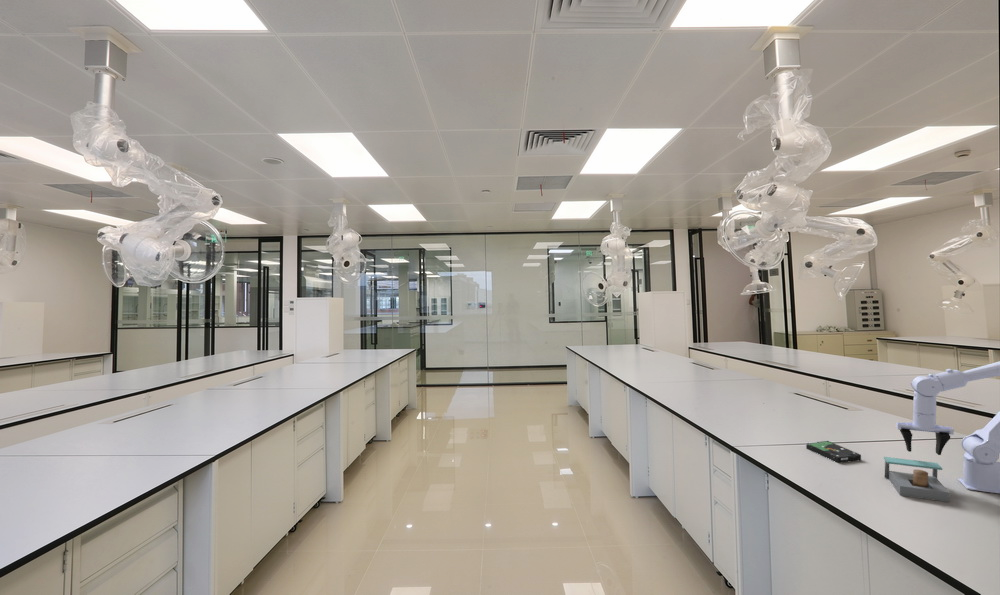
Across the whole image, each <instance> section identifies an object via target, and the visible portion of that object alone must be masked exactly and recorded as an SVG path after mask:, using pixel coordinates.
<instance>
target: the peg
mask: <svg viewBox="0 0 1000 595" xmlns="http://www.w3.org/2000/svg"><path fill="white" fill-rule="evenodd" d="M912 474H913V486H918V487H925V488H928V476H929V472H927V471H926V470H922V469H913V473H912Z"/></svg>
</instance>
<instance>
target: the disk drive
mask: <svg viewBox="0 0 1000 595" xmlns="http://www.w3.org/2000/svg"><path fill="white" fill-rule="evenodd" d="M805 447H806V449H807V450H809V451H811V452H813V453H815V454H817V453H818V454H817V455H819V454H820V456H822V457H824V458H826V457H827V458H826V459H828V458H829V460H830V459H831V460H830V461H832V460H833V461H832V462H834V461H835V462H834V463H837V464H840V463H841V462H842V463H849V462H848V461H851V462H857V460H859V461H862V454H860V453H858V452H856V451H853V450H851V449H848V448H846V447H844V446H842V445H839V444H837V443H834V442H832V441H829V440H822V441H816V442H810V443H809V442H807V443H806V444H805ZM842 463H841V464H842Z"/></svg>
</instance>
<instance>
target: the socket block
mask: <svg viewBox="0 0 1000 595" xmlns="http://www.w3.org/2000/svg"><path fill="white" fill-rule="evenodd" d="M888 480H889V482H890V481H891V482H890V483H891V485H892V484H893V485H892V486H893V487H894V489H895V491H897V493H898V494H899V496H903V497H910V496H912V497H911V498H917V499H918V498H919V499H923V498H925V500H930V499H934V500H933V501H937V500H939V502H944V503H950V499H951V498H950V497H951V492H950V491H949V490H948V489H947V488H946V487H945V486H944V484H942V482H941V481H940V479H938V477H937V478H936V477H934V476H932V475H928V488H925V487H918V486H913V473H910V472H901V471H893V470H889V478H888Z"/></svg>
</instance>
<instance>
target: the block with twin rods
mask: <svg viewBox="0 0 1000 595" xmlns="http://www.w3.org/2000/svg"><path fill="white" fill-rule="evenodd" d="M883 459H884V478H885V479H889V471H890V465H896V466H899V465H900V466H906V467H915V468H922V469H932V474H931V476H934V477H936V478H937V479H938V470H939V471H943V467H942V466H941V465H940V464H939V463H938V462H932V461H923V460H915V459H906V458H899V457H891V456H889V457H888V456H884V457H883Z"/></svg>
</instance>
